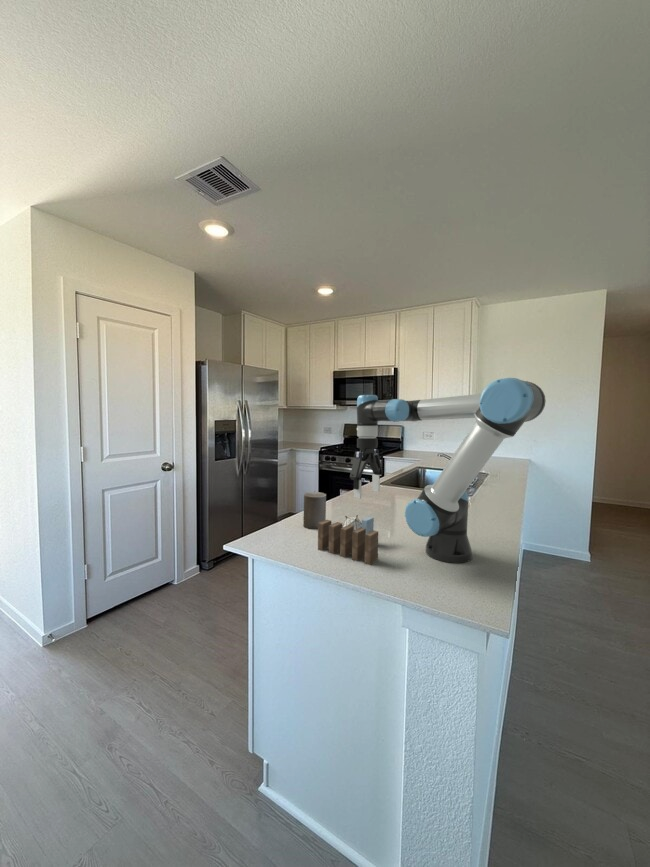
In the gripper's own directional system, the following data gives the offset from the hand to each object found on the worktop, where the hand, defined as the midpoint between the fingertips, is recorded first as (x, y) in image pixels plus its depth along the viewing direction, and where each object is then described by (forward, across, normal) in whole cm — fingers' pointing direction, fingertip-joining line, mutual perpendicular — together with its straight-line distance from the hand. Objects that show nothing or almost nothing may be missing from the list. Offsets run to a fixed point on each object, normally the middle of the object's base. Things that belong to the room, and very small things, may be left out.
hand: (367, 495), depth 132 cm
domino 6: (+19, +13, +9) cm, 24 cm away
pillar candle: (+18, -6, -29) cm, 35 cm away
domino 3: (+18, +13, -1) cm, 22 cm away
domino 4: (+19, +13, +4) cm, 23 cm away
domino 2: (+18, +13, -6) cm, 23 cm away
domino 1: (+18, +13, -10) cm, 24 cm away
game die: (+18, -4, -9) cm, 21 cm away
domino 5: (+18, 0, 0) cm, 19 cm away
